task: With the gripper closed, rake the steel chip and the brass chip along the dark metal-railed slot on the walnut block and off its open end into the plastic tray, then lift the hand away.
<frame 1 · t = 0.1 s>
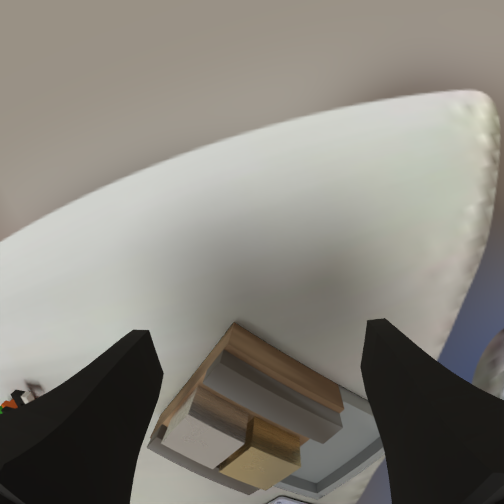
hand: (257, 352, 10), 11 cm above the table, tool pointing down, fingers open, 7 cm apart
toy: (49, 409, 26), on the table
tray: (326, 444, 23), on the table
chip a: (209, 415, 20), point 3 cm above the table, touching slot block
chip b: (261, 441, 20), point 3 cm above the table, touching slot block
slot block: (242, 405, 23), on the table
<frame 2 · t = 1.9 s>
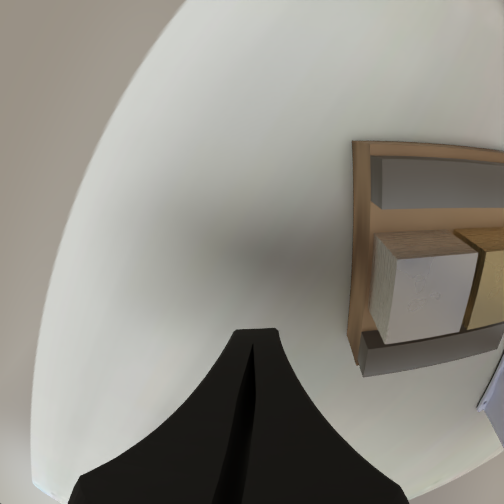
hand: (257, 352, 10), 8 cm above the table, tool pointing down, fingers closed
chip a: (408, 269, 14), point 3 cm above the table, touching slot block
chip b: (476, 262, 14), point 3 cm above the table, touching slot block
slot block: (425, 244, 17), on the table
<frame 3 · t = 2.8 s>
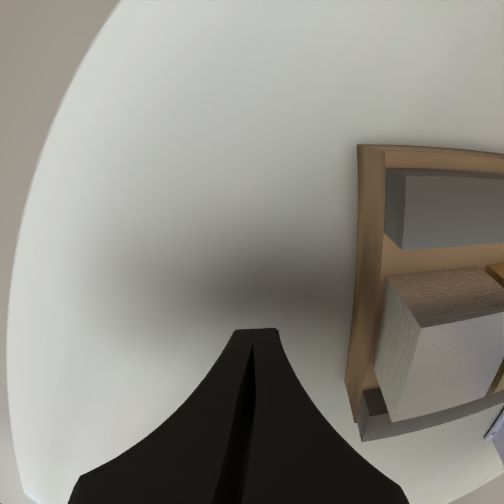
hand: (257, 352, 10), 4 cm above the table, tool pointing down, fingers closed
chip a: (426, 318, 10), point 3 cm above the table, touching slot block
slot block: (445, 276, 13), on the table
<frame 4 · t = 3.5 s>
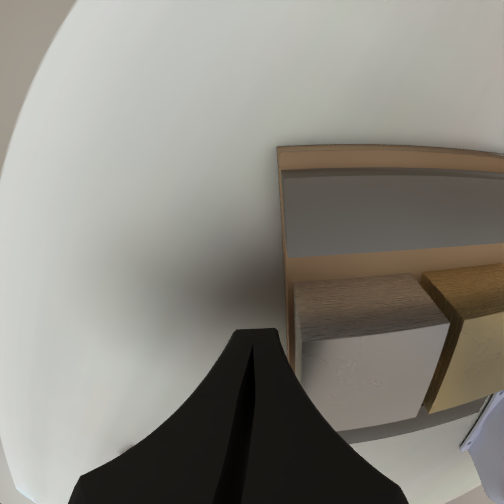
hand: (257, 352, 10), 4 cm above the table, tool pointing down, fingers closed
chip a: (350, 327, 10), point 3 cm above the table, touching gripper, slot block
chip b: (455, 313, 10), point 3 cm above the table, touching slot block
slot block: (389, 282, 13), on the table
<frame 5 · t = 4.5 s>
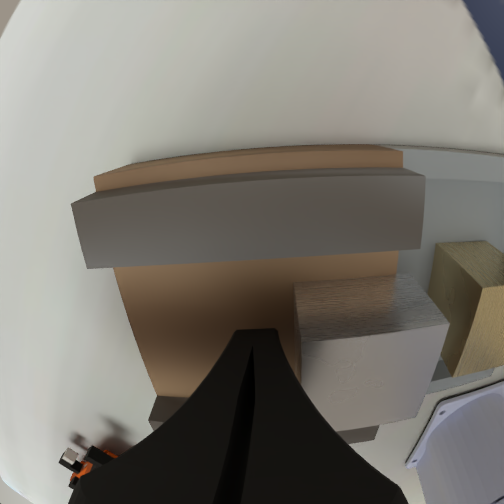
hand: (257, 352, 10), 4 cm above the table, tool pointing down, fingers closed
toy: (111, 456, 21), on the table
tray: (446, 276, 13), on the table
chip a: (350, 327, 10), point 3 cm above the table, touching gripper, slot block
chip b: (446, 308, 10), point 3 cm above the table, tilted 87°
slot block: (260, 291, 13), on the table
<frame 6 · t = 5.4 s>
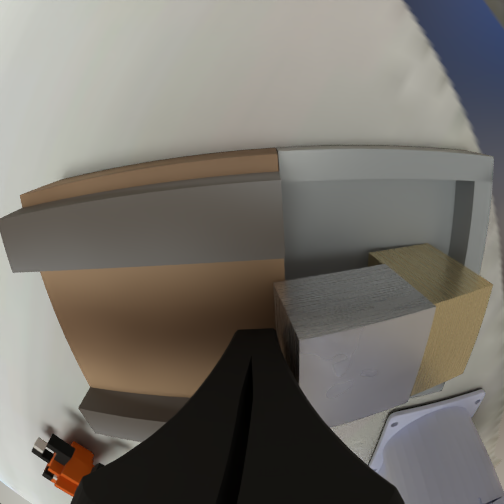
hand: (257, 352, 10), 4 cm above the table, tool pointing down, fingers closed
toy: (80, 448, 22), on the table
tray: (378, 283, 13), on the table
chip a: (330, 323, 11), point 3 cm above the table, tilted 11°, touching chip b, gripper
chip b: (388, 324, 10), point 3 cm above the table, tilted 101°, touching chip a, tray
slot block: (177, 295, 14), on the table
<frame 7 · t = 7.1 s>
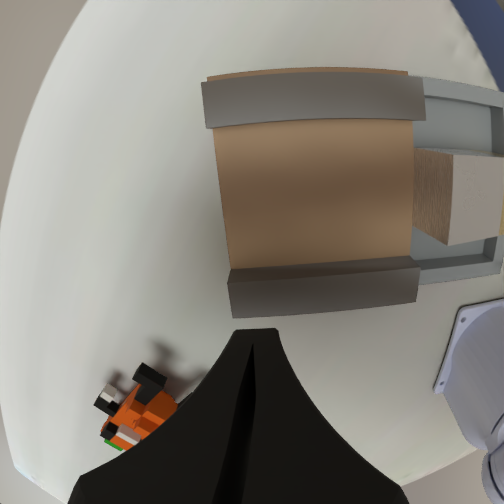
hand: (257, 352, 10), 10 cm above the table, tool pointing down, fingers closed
toy: (148, 397, 25), on the table
tray: (450, 179, 16), on the table
chip a: (441, 185, 14), point 3 cm above the table, tilted 10°, touching chip b, slot block
slot block: (313, 183, 17), on the table
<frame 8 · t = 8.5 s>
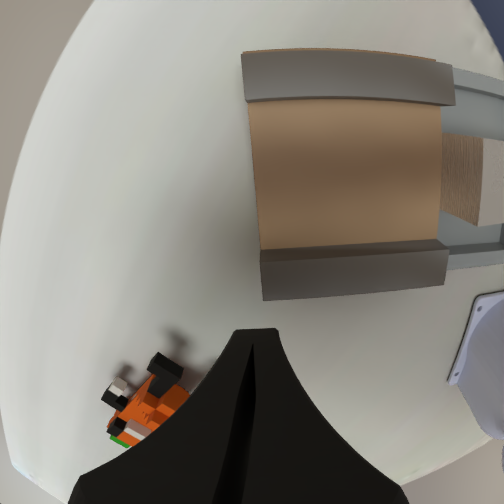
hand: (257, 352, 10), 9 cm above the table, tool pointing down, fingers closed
toy: (158, 391, 24), on the table
tray: (470, 168, 16), on the table
chip a: (466, 171, 13), point 3 cm above the table, tilted 10°, touching chip b, slot block
slot block: (342, 165, 16), on the table
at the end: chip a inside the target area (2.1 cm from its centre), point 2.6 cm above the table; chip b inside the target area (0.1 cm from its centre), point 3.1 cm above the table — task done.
